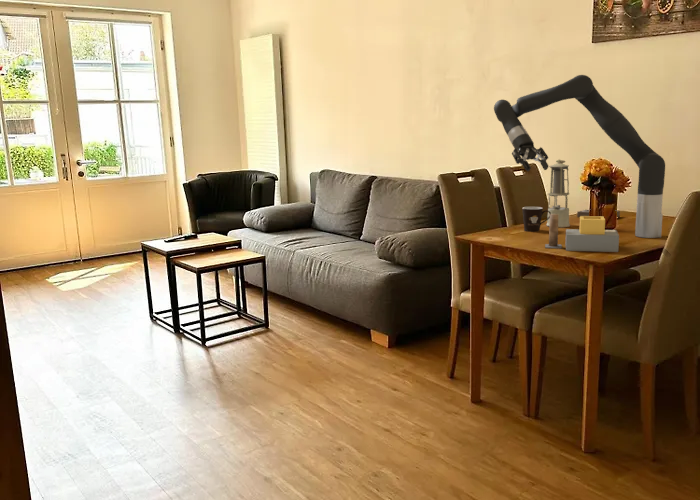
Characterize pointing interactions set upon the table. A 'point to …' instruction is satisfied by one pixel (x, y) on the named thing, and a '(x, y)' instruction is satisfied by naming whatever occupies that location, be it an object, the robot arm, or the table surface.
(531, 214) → the coffee mug
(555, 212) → the lamp
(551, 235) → the brown wooden cylinder
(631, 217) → the table surface
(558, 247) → the rest pad
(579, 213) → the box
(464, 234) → the table surface
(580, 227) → the grey base plinth
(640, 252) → the table surface
